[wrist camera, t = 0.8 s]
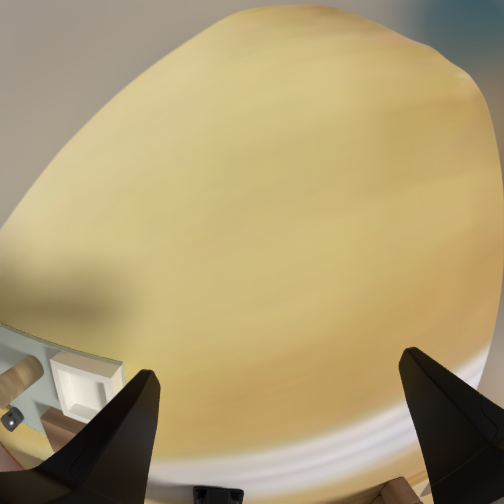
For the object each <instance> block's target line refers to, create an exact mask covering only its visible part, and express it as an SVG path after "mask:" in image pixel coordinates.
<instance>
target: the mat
mask: <svg viewBox="0 0 504 504" xmlns="http://www.w3.org/2000/svg"><path fill="white" fill-rule="evenodd" d="M62 350H64V351H67V352H70V353H73V354H77V355H80V356H83V357H87V358H91V359H94V360H98V361H102V362H106V363H110V364H114V365H119V366H121V375H122V384H123V387H124V386H125V385H126V383H125V374H124V363H123V362H120V361H115V360H111V359H107V358H103V357H99V356H95V355H91V354H87V353H84V352H80V351H77V350H73V349H70V348H67V347H63V346H60V345H57V344H54V343H51V342H48V341H45V340H42V339H39V338H37V337H34V336H31V335H29V334H26V333H23V332H21V331H18V330H16V329H13V328H11V327H9V326H6V325H4V324H2V323H0V375H1V374H2V373H4V372H5V371H7V370H8V369H10V368H11V367H13V366H14V365H16V364H17V363H19V362H20V361H22V360H23V359H25V358H26V357H28V356H29V355H33V356H35V357H36V358H37V359H38V360H39V361H40V362H41V364H42V366H43V369H44V375H43V376H42V377H41V378H40V379H39V380H37V381H36V382H35V383H34V384H32V385H31V386H30V387H29V388H28V389H26V390H25V391H24V392H23V393H22V394H20V395H19V396H18V397H17V398H16V399H15V400H13V401H12V402H11V403H10V406H11V408H12V407H16V408H18V409H19V410H20V411H21V413H22V414H23V416H24V420H23V421H22V423H24V424H26V425H27V426H29V427H31V428H33V429H35V430H37V431H39V432H41V433H43V434H45V435H46V433H45V430H44V428H43V425H42V423H41V420H40V417H41V416H42V415H43V414H44V413H45V412H46V411H47V410H48V409H49V408H50V407H51V406H52V407H55V408H57V409H59V410H62V408H61V404H60V401H59V397H58V393H57V389H56V385H55V381H54V377H53V372H52V368H51V363H50V359H51V358H52V357H54V356H55V355H56V354H58V353H59V352H61V351H62Z"/></svg>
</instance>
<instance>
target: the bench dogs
mask: <svg viewBox="0 0 504 504" xmlns="http://www.w3.org/2000/svg"><path fill="white" fill-rule="evenodd" d="M23 420H24V416H23V414H22V413H21V411H20V410H19V409H18V408H16V407H12V408H11V409H10V410H9V411H8V412H7V413H6V414H4V415H3V416H2V417H1V422H2V424H3V425H4V426H5V428H6V429H7V430H9V431H10V432H12V431H13V430H14V429H15V428H16V427H17V426H18V425H19V424H20V423H21V422H22V421H23Z"/></svg>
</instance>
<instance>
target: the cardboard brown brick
mask: <svg viewBox="0 0 504 504" xmlns="http://www.w3.org/2000/svg"><path fill="white" fill-rule="evenodd" d="M40 420H41V423H42V425H43V428H44V430H45V433H46V435H47V438H48V440H49V442H50V444H51V447H52V449H53V451H54V452H57V451H58V450H60V449H61V448H62V447H63V446H64V445H66V444H67V443H68V442H69V441H70V440H71V439H72V438H73V437H74V436H75V435H76V434H77V433H78V432H79V431H80V430H82V429H83V427H84V426H86V425H87V423H84V422H81V421H78V420H76V419H73V418H70V417H68V416H65V415H64V414H63V411H62V410H59V409H57V408H55V407H52V406H51V407H50V408H49V409H48V410H47V411H46V412H45V413H44V414H43V415H42V416H41V417H40Z"/></svg>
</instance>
